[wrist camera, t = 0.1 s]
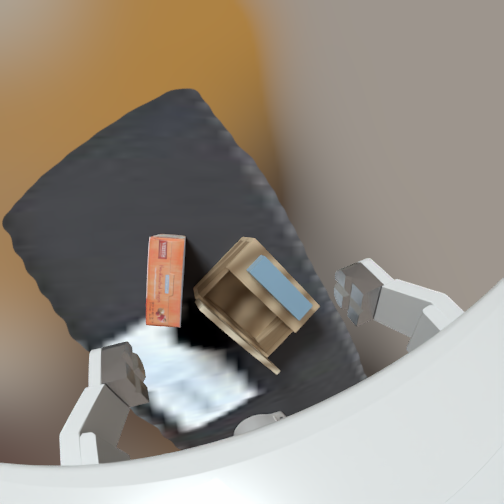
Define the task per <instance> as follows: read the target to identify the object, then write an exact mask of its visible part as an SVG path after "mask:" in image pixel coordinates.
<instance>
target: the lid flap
mask: <svg viewBox="0 0 504 504" xmlns="http://www.w3.org/2000/svg"><path fill="white" fill-rule="evenodd" d="M195 303H196V305H197V307H198V308H199V310H200V311H201V312H202V313H203V314H205V315H206V316H207V317H208V318H209V319H210V320H211V321H212V322H214V323H215V324H216V325H217V326H218V327H219V328H221V329H222V330H223V331H224V332H225V333H226V334H228V335H229V336H230V337H231V338H232V339H233V340H235V341H236V342H237V343H238V344H239V345H241V346H242V347H243V348H244V349H245V350H247V351H248V352H249V353H250V354H252V355H253V356H254V357H255V358H256V359H258V360H259V361H260V362H261V363H263V364H264V365H265V366H266V367H268V368H269V369H270V370H272V371H273V372H274V373H275V374H278V373H279V372H280V370H279V369H278V368H277V367H276V366H275V365H274V364H273V363H272V362H271V361H270V360H269V359H268V358H267V357H266V356H264V355H263V354H262V353H261V352H260V351H258V350H257V349H256V348H255V347H254V346H252V345H251V344H250V343H249V342H248V341H247V340H245V339H244V338H243V337H242V336H241V335H239V334H238V333H237V332H236V331H235V330H234V329H233V328H231V327H230V326H229V325H228V324H227V323H226V322H224V321H223V320H222V319H221V318H220V317H219V316H218V315H217V314H215V313H214V312H213V311H212V310H211V309H210V308H209V307H208V306H207V305H205V304H204V303H203V302H202V301H201V300H200V299H199V298H198V299H197V300H196V301H195Z"/></svg>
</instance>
